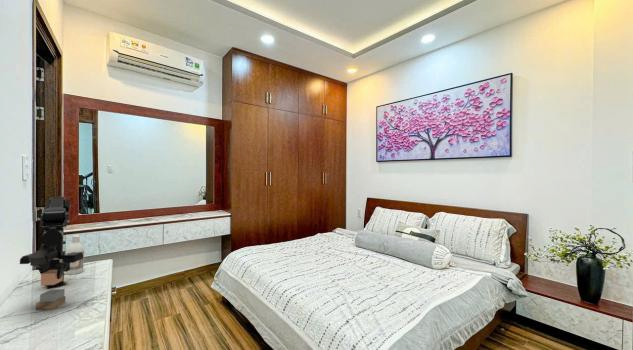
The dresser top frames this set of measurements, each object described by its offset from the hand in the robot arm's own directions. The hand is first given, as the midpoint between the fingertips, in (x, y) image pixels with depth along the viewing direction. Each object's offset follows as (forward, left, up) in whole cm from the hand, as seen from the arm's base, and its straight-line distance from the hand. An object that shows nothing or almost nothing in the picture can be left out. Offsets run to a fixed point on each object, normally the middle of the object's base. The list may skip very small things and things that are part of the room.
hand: (52, 279), depth 106 cm
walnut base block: (0, 0, -11) cm, 11 cm away
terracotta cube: (0, 0, -2) cm, 2 cm away
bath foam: (-40, +16, -11) cm, 44 cm away
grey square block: (0, 0, -8) cm, 8 cm away
